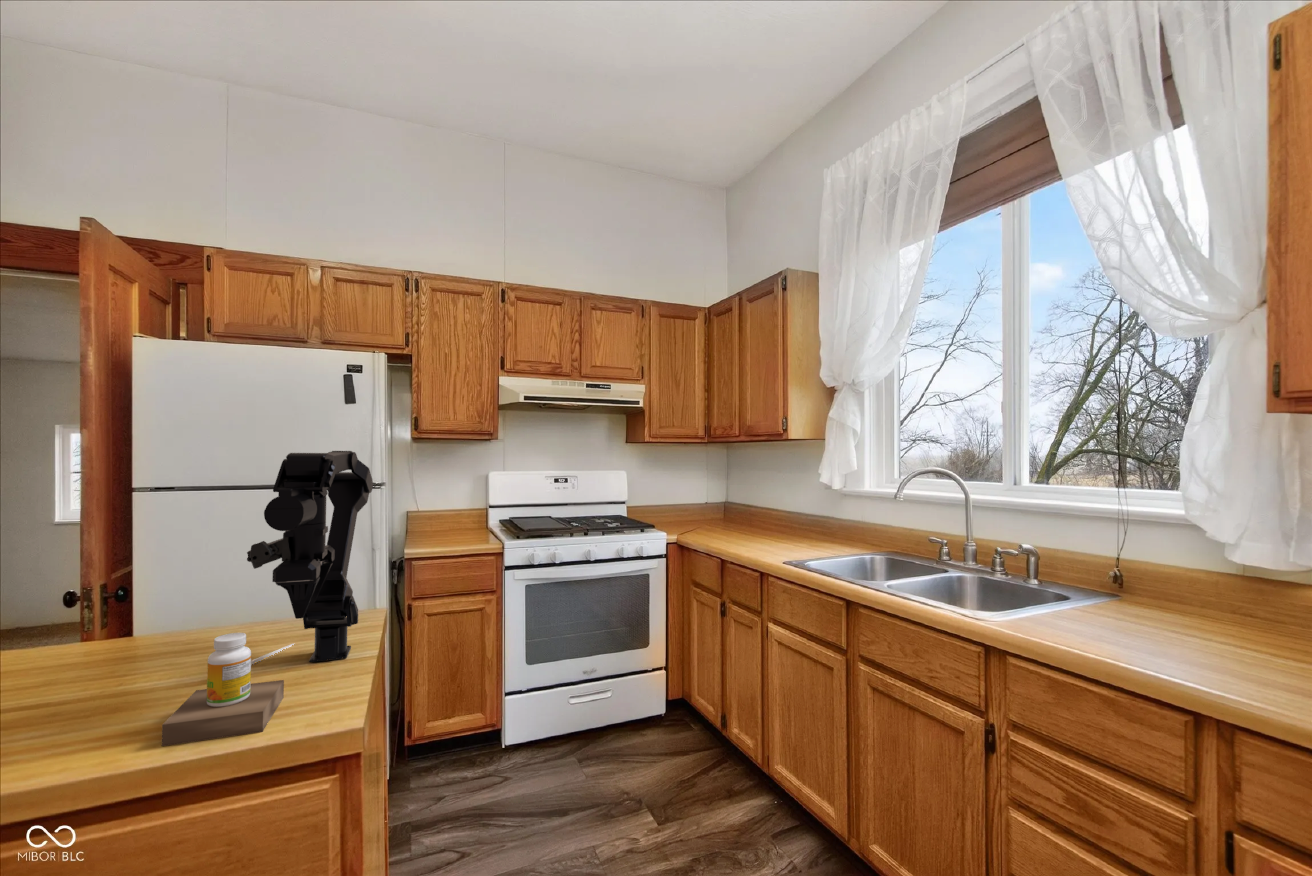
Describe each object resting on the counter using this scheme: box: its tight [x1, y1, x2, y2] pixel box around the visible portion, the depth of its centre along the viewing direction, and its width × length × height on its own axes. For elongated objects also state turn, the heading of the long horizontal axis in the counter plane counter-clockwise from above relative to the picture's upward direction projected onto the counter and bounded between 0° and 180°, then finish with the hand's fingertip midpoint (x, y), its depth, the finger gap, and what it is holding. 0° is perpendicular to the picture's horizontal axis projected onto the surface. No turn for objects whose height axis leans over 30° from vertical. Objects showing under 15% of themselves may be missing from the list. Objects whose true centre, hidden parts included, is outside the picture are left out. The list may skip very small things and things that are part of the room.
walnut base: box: [161, 679, 285, 747], centre depth 87 cm, size 12×12×3 cm
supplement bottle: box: [206, 632, 252, 707], centre depth 87 cm, size 5×5×10 cm
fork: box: [251, 643, 295, 666], centre depth 110 cm, size 3×20×2 cm, turn 176°
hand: (305, 610), depth 100 cm, fingers open, 9 cm apart
